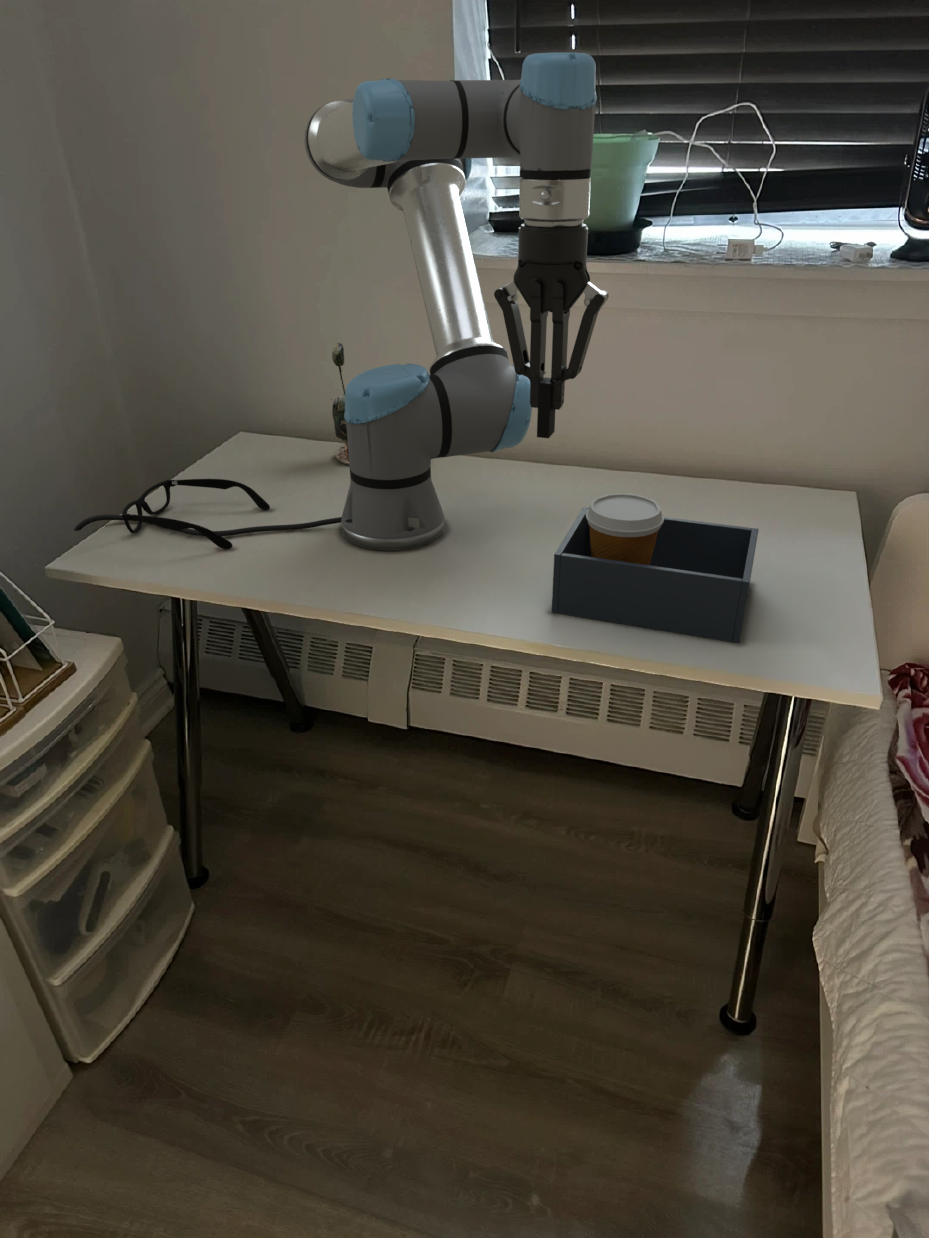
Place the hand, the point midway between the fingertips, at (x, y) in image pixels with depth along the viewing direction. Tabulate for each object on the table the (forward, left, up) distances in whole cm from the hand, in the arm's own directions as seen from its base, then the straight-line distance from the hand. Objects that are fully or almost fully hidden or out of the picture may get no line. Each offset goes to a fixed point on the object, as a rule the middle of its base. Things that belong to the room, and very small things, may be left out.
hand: (545, 434), depth 107 cm
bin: (+15, 0, -20) cm, 25 cm away
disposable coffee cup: (+10, 0, -20) cm, 23 cm away
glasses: (-54, +1, -20) cm, 58 cm away
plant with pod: (-44, +35, -20) cm, 60 cm away
